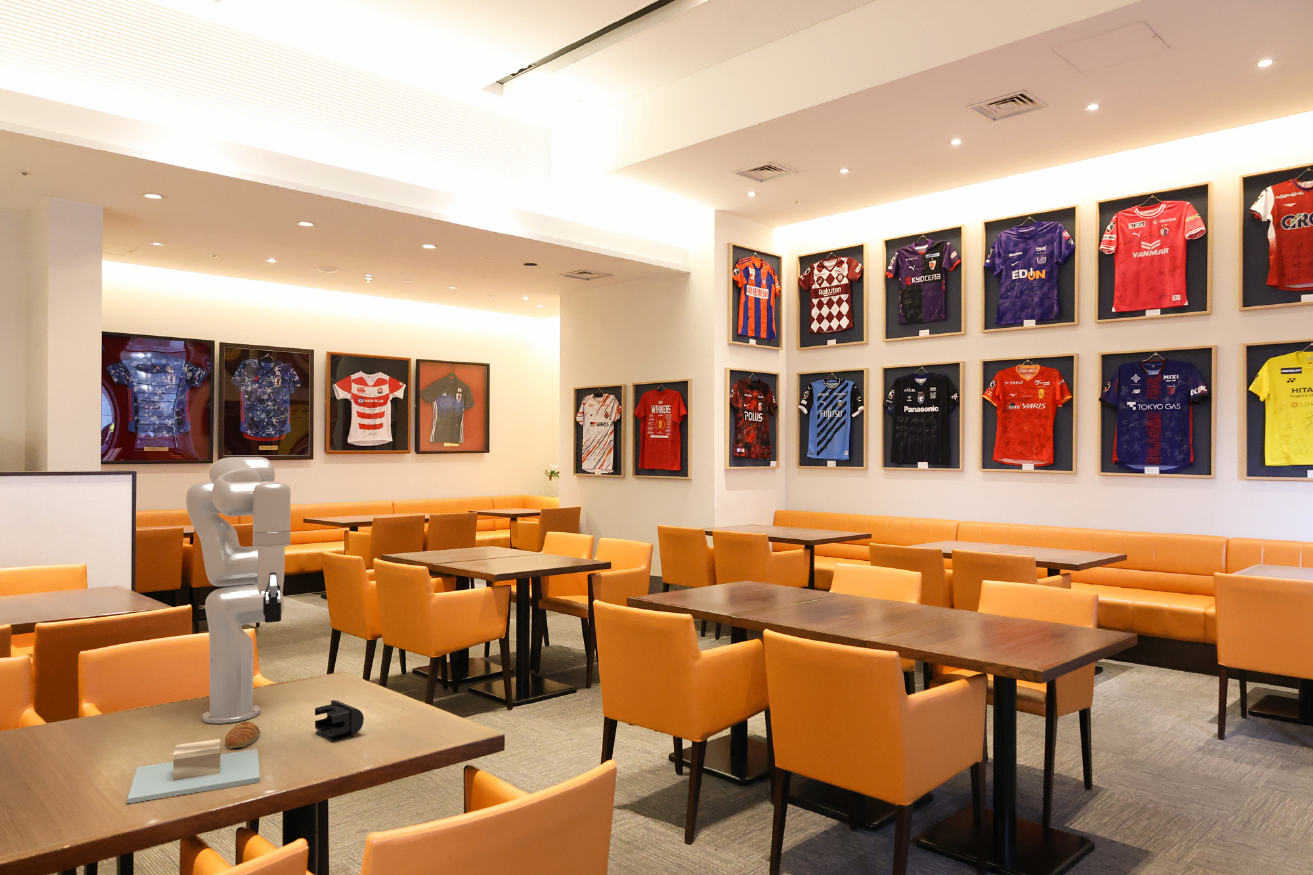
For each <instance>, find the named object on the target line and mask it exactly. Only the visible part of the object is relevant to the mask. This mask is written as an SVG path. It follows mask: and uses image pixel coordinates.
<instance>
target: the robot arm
mask: <svg viewBox="0 0 1313 875" xmlns="http://www.w3.org/2000/svg"><path fill="white" fill-rule="evenodd" d="M275 472H276V471H275V467H274V465H273V463H272V462H271V461H270V460H269V459H268V458H265V457H262V456H242V457H241V456H237V457H236V456H231V457H230V456H229V457H223V458H220V459H219V460H217V461H215V462H214V463H213V464H212V465H211V467H210V469H209V480H208V481H207V480H206V481H202V482H197V483H195V484H193V485H191V486H190V487H189V488H188V490H187V492H186V495H185V496H186V497H185V502H186V511H187V515H188V519H189V520H190V523H191V525H192V526H193V528H194V531H195V532H196V533H197V536H198V538H199V541H200V545H201V551H202V559H203V563H204V569H205V574H206V577H207V580H208V582H209V583H210V584H211V585H212V586H215V587H221V588H217V589H215V590H213V591H212V592H210V593H209V594H208V596H207V597H206V599H205V603H204V604H205V605H204V606H205V607H204V608H205V615H206V621H207V628H208V638H209V641H208V642H209V710H207V711H206V712H204V713H203V714H202V717H201V718H202V721H203V722H204V723H207V724H214V725H215V724H216V725H219V724H230V723H236V722H237V723H238V722H244V721H245V720H250V719H252V718H254V717H257V716H258V715H259V714H260V713H261V712H260V711H261V709H260V706H259V705H257V704H254V644H253V640H252V638H251V636H250V635H249V634H248V633H247V632H246V631H245V630H244V629H243V626H245V625H249V624H256V623H263V622H264V623H267V624H268V623H279V622H281V621H282V615H283V612H284V609H285V608H284V607H285V605H284V604H285V603H284V601H285V600H284V594H283V591H284V582H285V565H286V564H285V553H286V551H285V549H286V548H285V547H290V546H292V545H291V488H290V486H289V485H288V484H287V483H281V482H279V481H275V478H276V473H275ZM219 514H222V515H224V516H226V517H242V516H243V517H247V516H252V546H242V545H240V541H239V536H238V532H237V530H236V529H235V527H234V526H233V525H232V524H231V523H229V522H228V521H227V520H226V519H224V518H223V517H221V516H220V515H219Z"/></svg>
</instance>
